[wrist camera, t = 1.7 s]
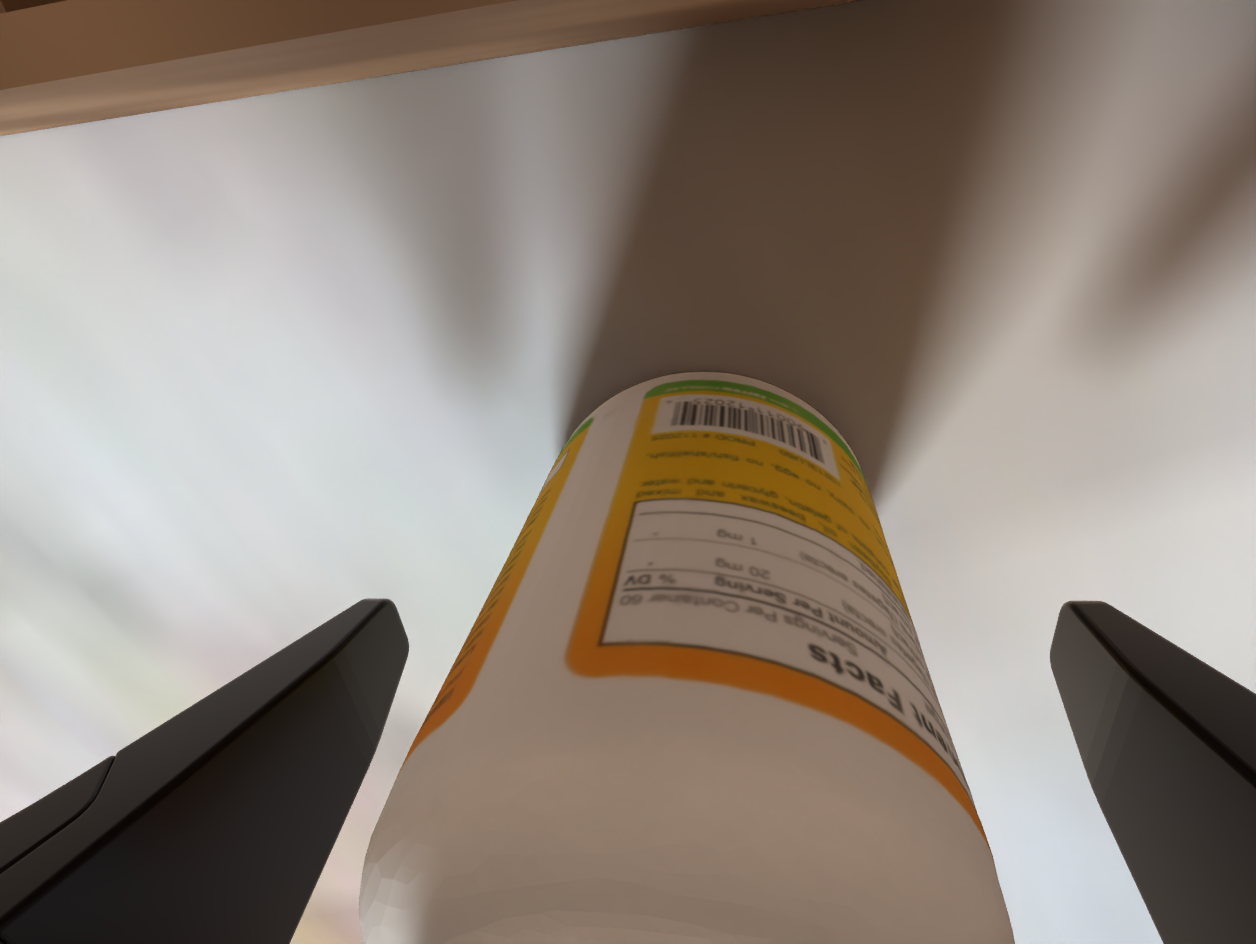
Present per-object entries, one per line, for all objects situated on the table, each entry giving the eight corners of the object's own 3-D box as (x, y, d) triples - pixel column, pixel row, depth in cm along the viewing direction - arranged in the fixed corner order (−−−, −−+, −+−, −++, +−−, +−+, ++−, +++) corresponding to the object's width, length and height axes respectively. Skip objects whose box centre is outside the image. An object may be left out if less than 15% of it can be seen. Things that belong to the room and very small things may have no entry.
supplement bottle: (644, 658, 13) (484, 1585, 5) (495, 444, 11) (-171, 1385, 3) (913, 576, 12) (1370, 1849, 3) (790, 302, 10) (1149, 1760, 1)
